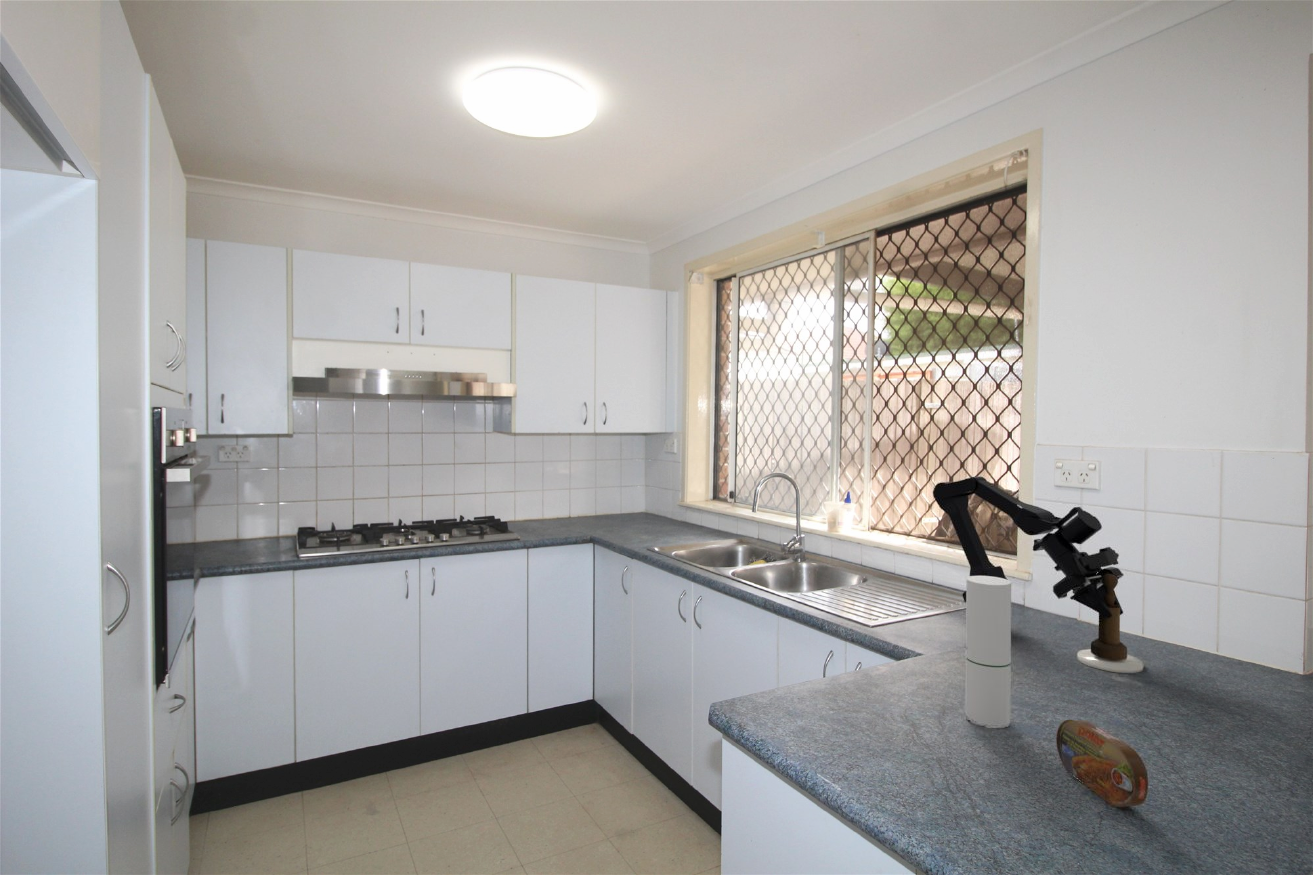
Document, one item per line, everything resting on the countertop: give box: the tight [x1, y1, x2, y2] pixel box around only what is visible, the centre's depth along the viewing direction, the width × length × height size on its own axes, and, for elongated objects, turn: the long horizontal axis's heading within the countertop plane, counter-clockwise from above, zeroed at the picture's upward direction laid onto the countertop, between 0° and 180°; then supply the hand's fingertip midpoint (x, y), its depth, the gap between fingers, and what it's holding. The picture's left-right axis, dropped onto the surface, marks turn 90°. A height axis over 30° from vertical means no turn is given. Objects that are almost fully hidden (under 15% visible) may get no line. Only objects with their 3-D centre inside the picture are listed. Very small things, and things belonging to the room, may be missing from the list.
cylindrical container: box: [964, 575, 1012, 726], centre depth 119 cm, size 7×7×25 cm
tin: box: [1055, 719, 1149, 808], centre depth 96 cm, size 15×3×8 cm, turn 5°
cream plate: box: [1076, 648, 1144, 674], centre depth 147 cm, size 12×12×1 cm
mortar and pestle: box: [1090, 574, 1128, 660], centre depth 147 cm, size 7×6×18 cm
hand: (1116, 615), depth 146 cm, fingers closed on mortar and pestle, 4 cm apart
